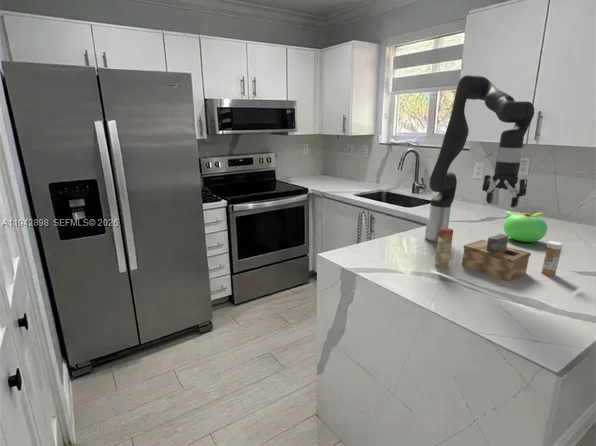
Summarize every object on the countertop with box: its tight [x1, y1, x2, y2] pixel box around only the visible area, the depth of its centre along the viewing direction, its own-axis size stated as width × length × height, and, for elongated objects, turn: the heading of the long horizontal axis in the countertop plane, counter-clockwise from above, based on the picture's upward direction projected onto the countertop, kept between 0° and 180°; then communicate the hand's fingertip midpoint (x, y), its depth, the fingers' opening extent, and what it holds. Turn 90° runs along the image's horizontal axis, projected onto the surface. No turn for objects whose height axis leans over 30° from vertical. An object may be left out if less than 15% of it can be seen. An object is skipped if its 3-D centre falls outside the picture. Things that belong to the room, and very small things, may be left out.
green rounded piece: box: [503, 211, 548, 243], centre depth 172 cm, size 18×17×15 cm
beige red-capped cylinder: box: [434, 227, 454, 269], centre depth 137 cm, size 4×4×16 cm
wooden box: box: [461, 248, 530, 282], centre depth 136 cm, size 18×13×8 cm
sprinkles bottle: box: [541, 240, 563, 277], centre depth 131 cm, size 5×5×14 cm
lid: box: [463, 233, 532, 263], centre depth 134 cm, size 18×13×6 cm
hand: (500, 205), depth 130 cm, fingers open, 8 cm apart
